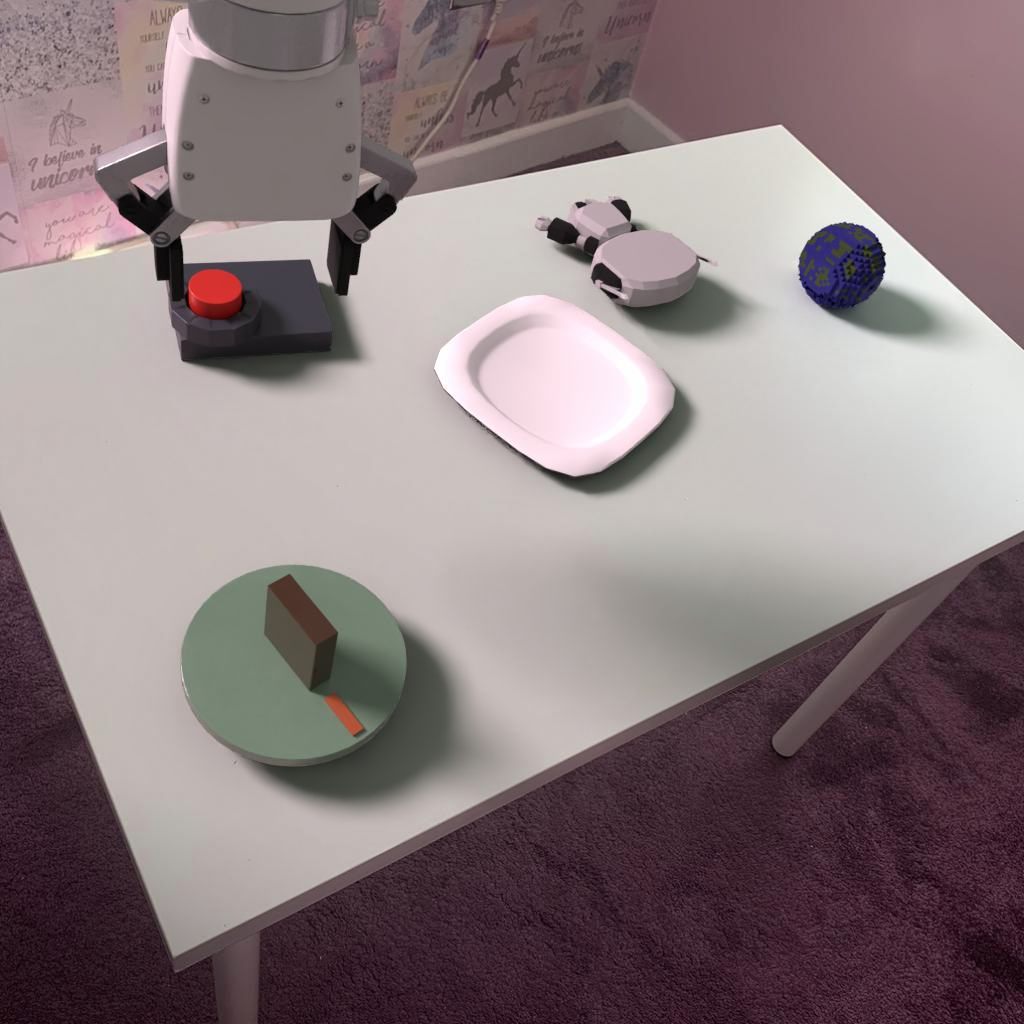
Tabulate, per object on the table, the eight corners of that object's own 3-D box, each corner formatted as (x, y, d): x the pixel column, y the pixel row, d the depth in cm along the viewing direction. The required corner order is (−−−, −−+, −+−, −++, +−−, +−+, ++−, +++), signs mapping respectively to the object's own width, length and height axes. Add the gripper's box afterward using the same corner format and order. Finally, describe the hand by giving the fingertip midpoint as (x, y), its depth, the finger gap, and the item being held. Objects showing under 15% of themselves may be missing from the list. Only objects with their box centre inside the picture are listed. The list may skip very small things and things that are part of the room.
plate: (692, 402, 94) (699, 389, 93) (573, 508, 83) (579, 495, 82) (537, 290, 99) (541, 276, 97) (406, 377, 88) (409, 363, 87)
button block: (177, 370, 83) (175, 332, 80) (160, 284, 88) (158, 246, 85) (333, 359, 88) (338, 323, 84) (308, 278, 93) (312, 242, 90)
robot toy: (520, 245, 104) (619, 335, 97) (528, 205, 100) (632, 295, 94) (611, 217, 110) (710, 299, 103) (622, 178, 107) (725, 261, 100)
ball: (772, 281, 108) (804, 220, 102) (815, 259, 112) (849, 200, 106) (831, 329, 105) (867, 270, 99) (873, 306, 109) (911, 247, 103)
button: (192, 322, 82) (192, 305, 80) (185, 287, 84) (185, 269, 82) (245, 319, 83) (246, 302, 82) (236, 284, 85) (237, 267, 84)
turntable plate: (137, 638, 66) (131, 579, 61) (321, 540, 74) (330, 481, 69) (264, 812, 61) (269, 763, 56) (448, 688, 69) (467, 636, 64)
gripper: (423, -18, 56) (383, 240, 69) (71, -43, 50) (100, 245, 63) (460, 62, 52) (410, 320, 65) (81, 45, 46) (111, 333, 59)
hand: (257, 283), depth 64 cm, fingers open, 9 cm apart
